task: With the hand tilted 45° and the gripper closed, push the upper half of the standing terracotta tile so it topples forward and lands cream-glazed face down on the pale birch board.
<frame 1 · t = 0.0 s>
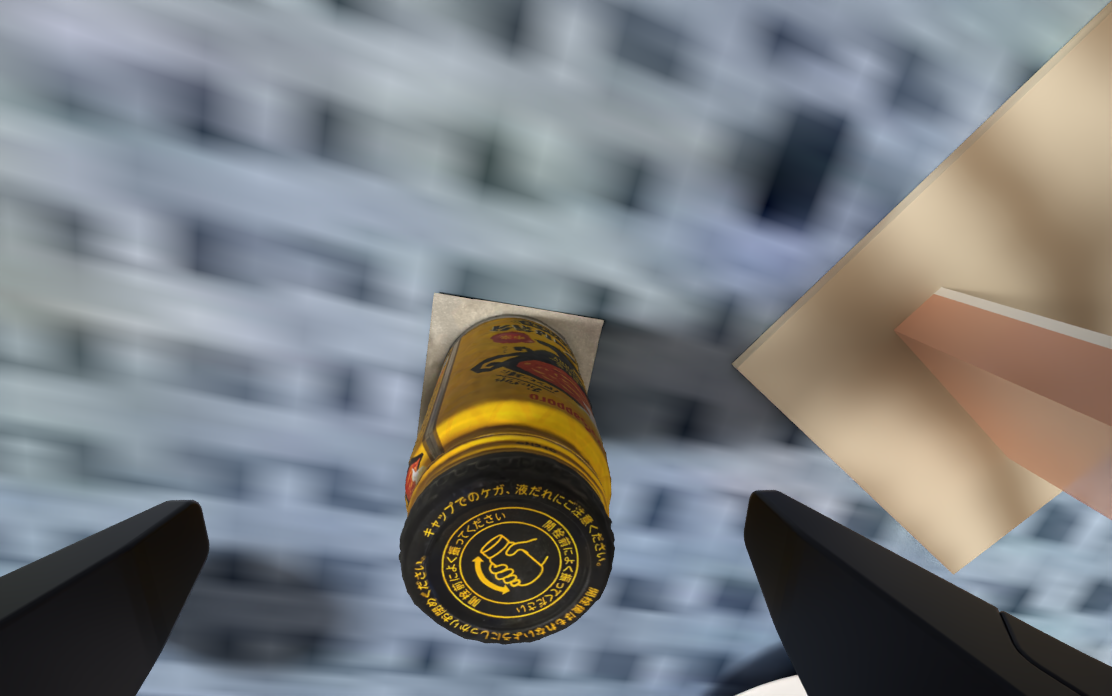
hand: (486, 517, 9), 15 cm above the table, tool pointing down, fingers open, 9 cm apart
condiment: (505, 393, 24), on the table
board: (1053, 299, 24), on the table
tile: (973, 381, 25), point 1 cm above the table, touching board
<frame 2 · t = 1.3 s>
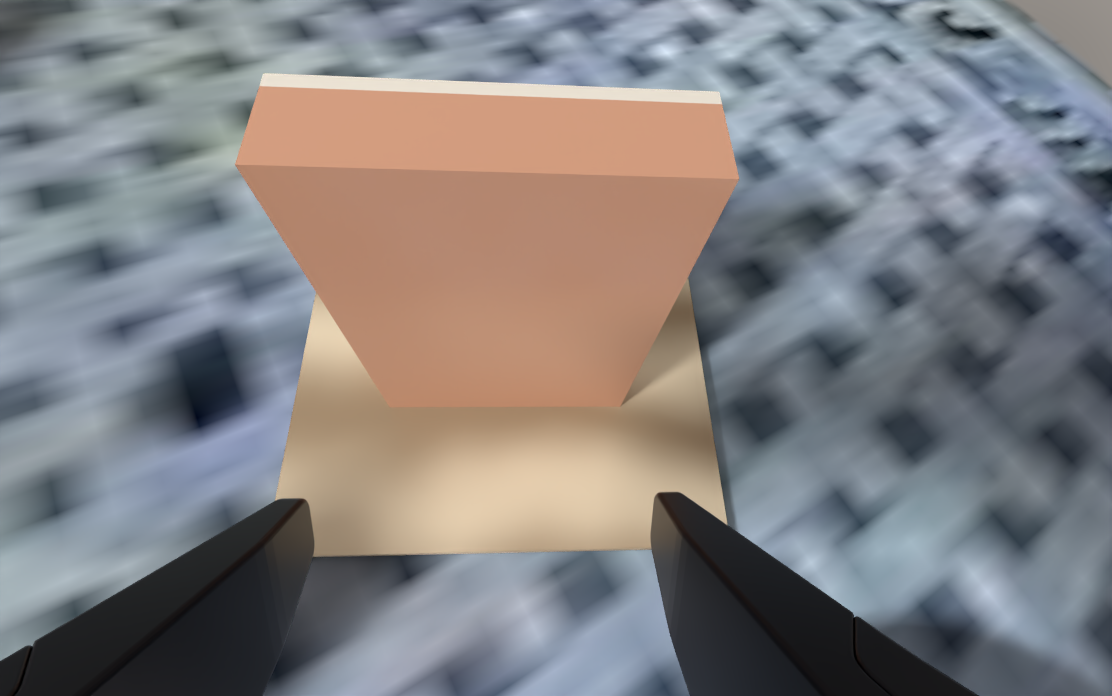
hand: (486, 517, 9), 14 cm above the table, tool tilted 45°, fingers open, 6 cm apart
board: (508, 294, 26), on the table
tile: (507, 383, 24), point 1 cm above the table, touching board
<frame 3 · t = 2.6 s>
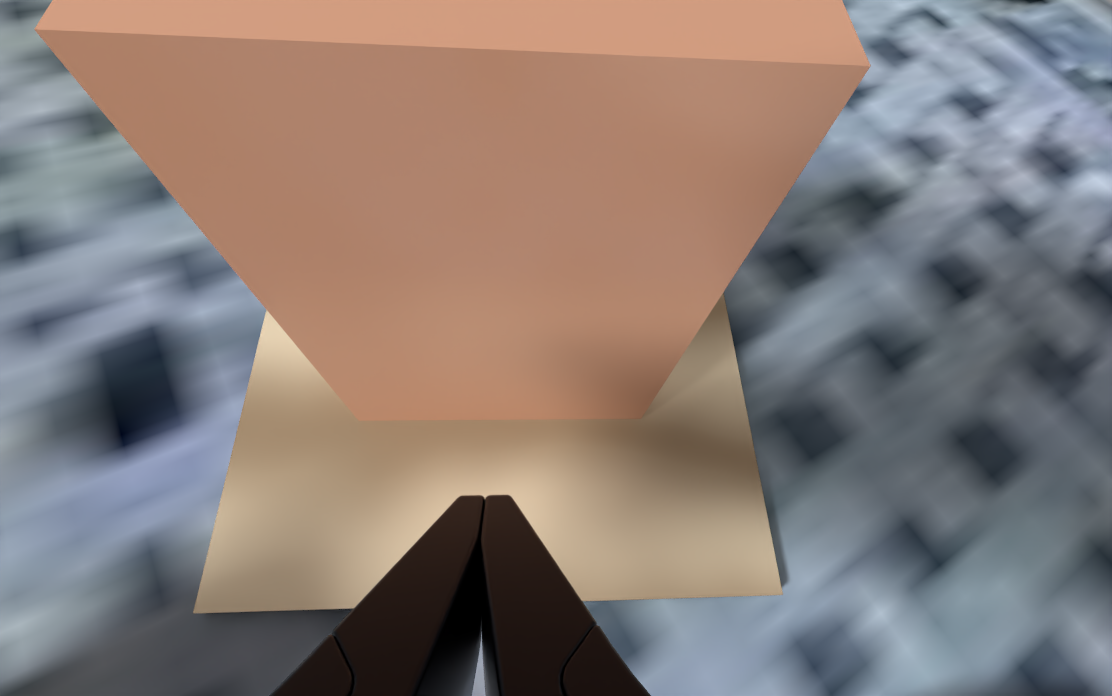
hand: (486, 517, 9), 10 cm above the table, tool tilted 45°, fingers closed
board: (505, 284, 22), on the table
tile: (502, 390, 19), point 1 cm above the table, touching board
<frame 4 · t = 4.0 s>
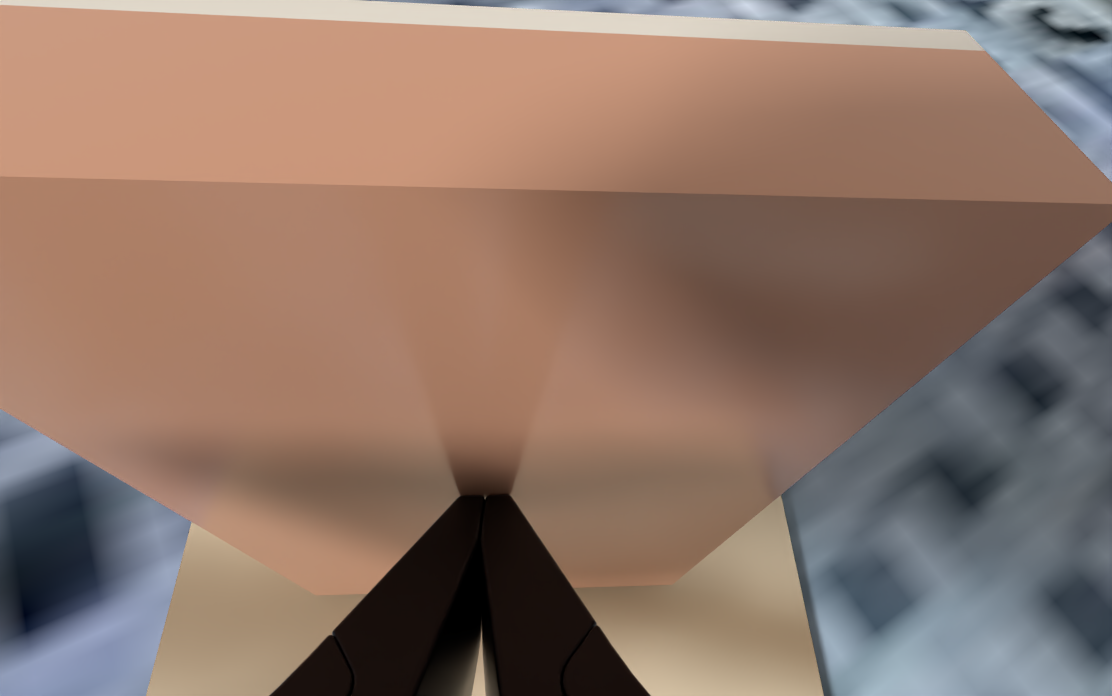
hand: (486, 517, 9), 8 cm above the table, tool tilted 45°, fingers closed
board: (502, 400, 19), on the table
tile: (499, 549, 16), point 1 cm above the table, tilted 8°, touching board
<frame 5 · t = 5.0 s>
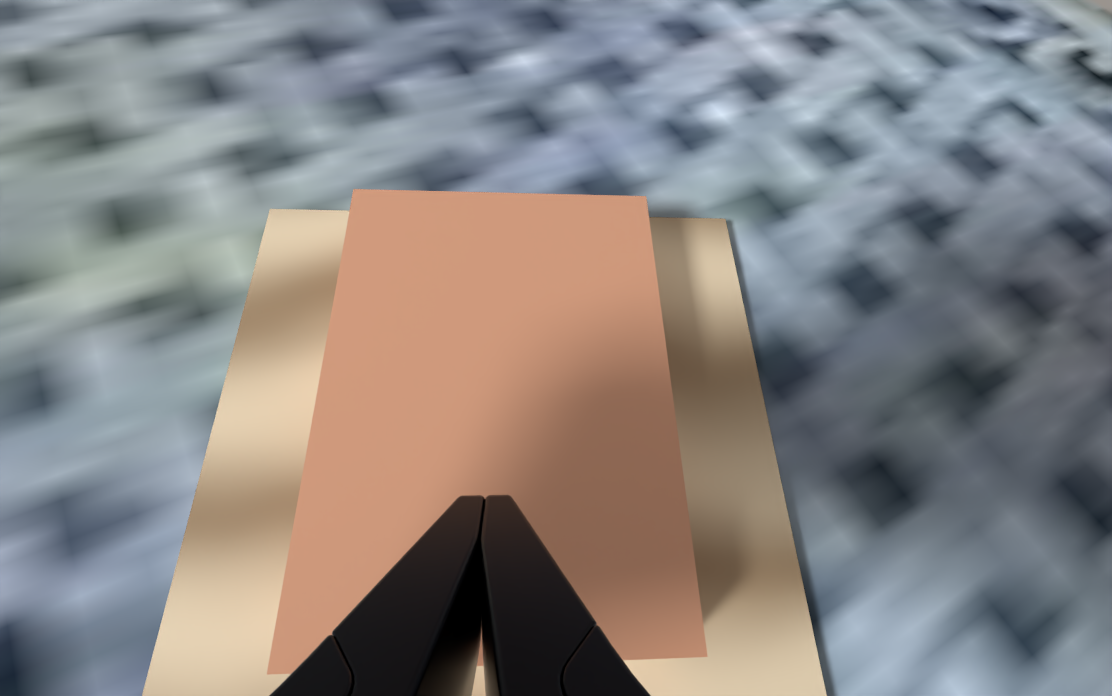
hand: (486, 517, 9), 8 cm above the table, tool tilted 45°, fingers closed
board: (500, 533, 16), on the table
tile: (495, 661, 13), point 2 cm above the table, tilted 90°, touching board
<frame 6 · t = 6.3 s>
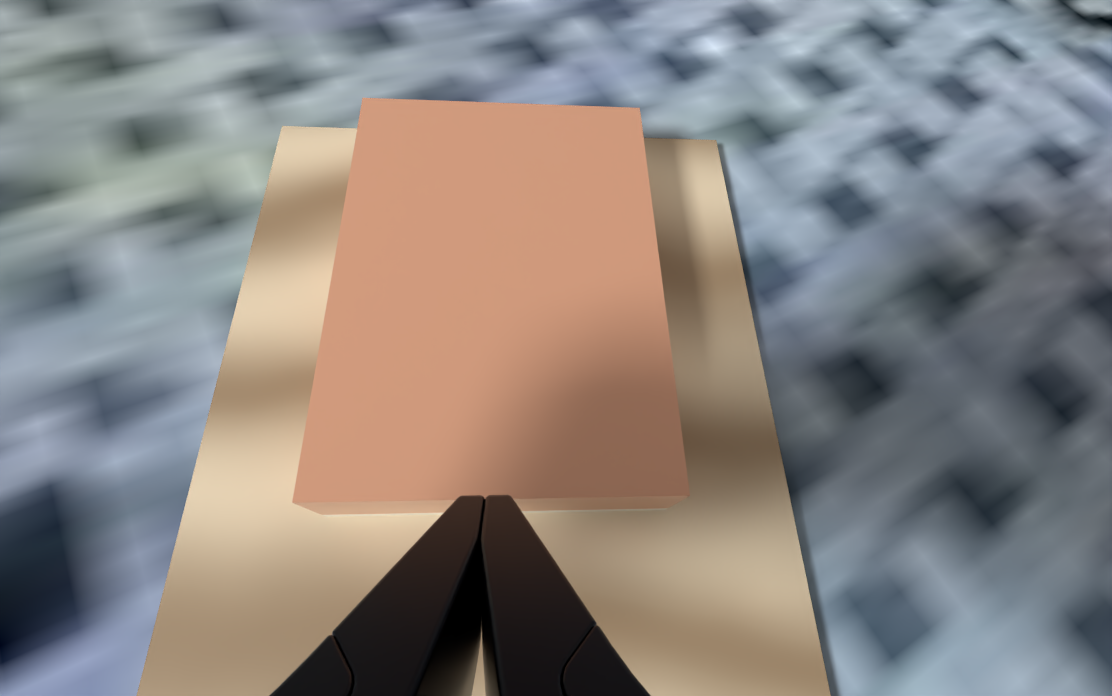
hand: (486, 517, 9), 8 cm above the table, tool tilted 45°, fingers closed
board: (501, 414, 18), on the table
tile: (497, 505, 14), point 2 cm above the table, tilted 90°, touching board
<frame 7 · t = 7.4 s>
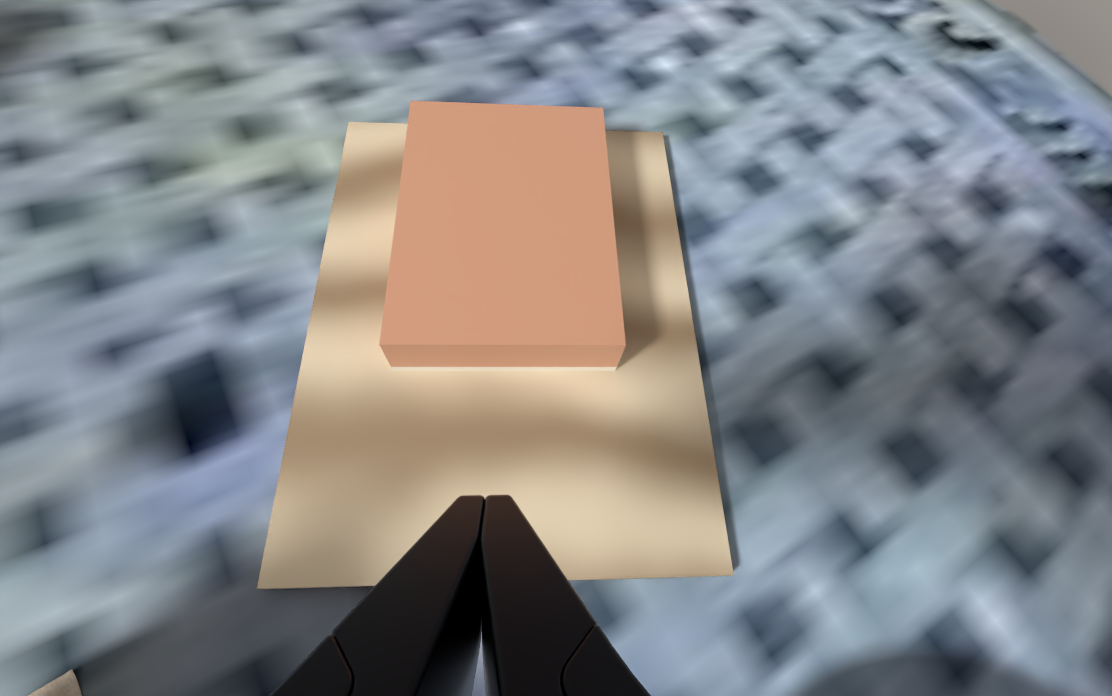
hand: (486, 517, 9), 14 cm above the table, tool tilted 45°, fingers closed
board: (506, 313, 26), on the table
tile: (505, 356, 23), point 2 cm above the table, tilted 90°, touching board
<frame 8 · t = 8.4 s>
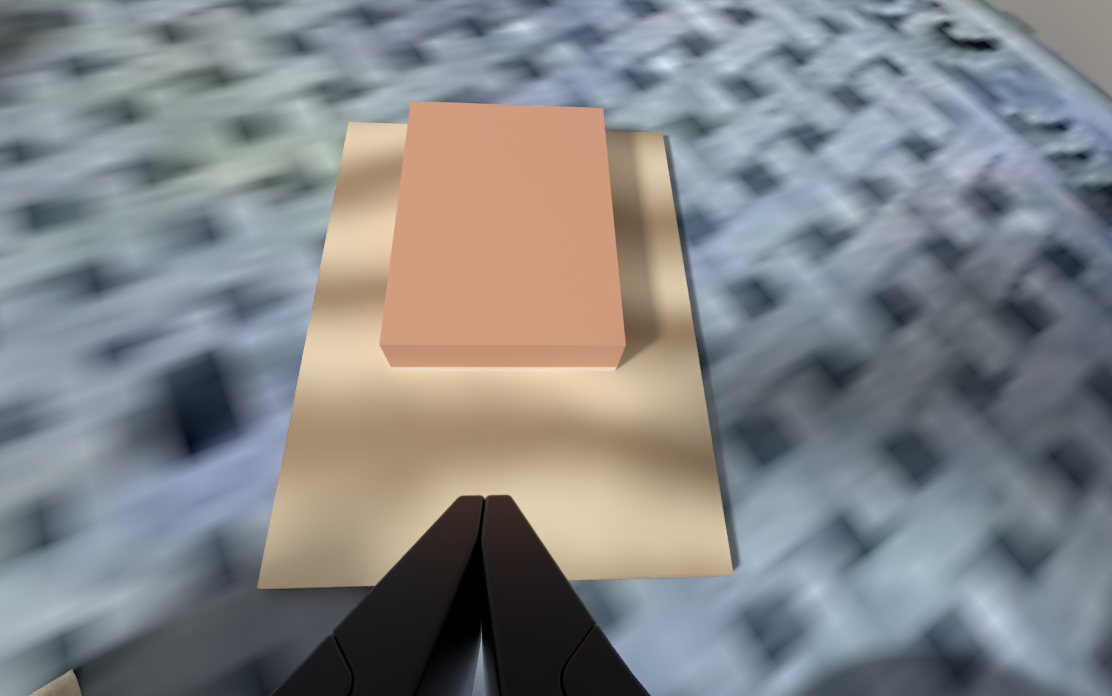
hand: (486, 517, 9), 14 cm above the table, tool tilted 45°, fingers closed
board: (506, 314, 26), on the table
tile: (505, 356, 23), point 2 cm above the table, tilted 90°, touching board
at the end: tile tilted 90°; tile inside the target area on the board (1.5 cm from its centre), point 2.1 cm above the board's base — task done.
